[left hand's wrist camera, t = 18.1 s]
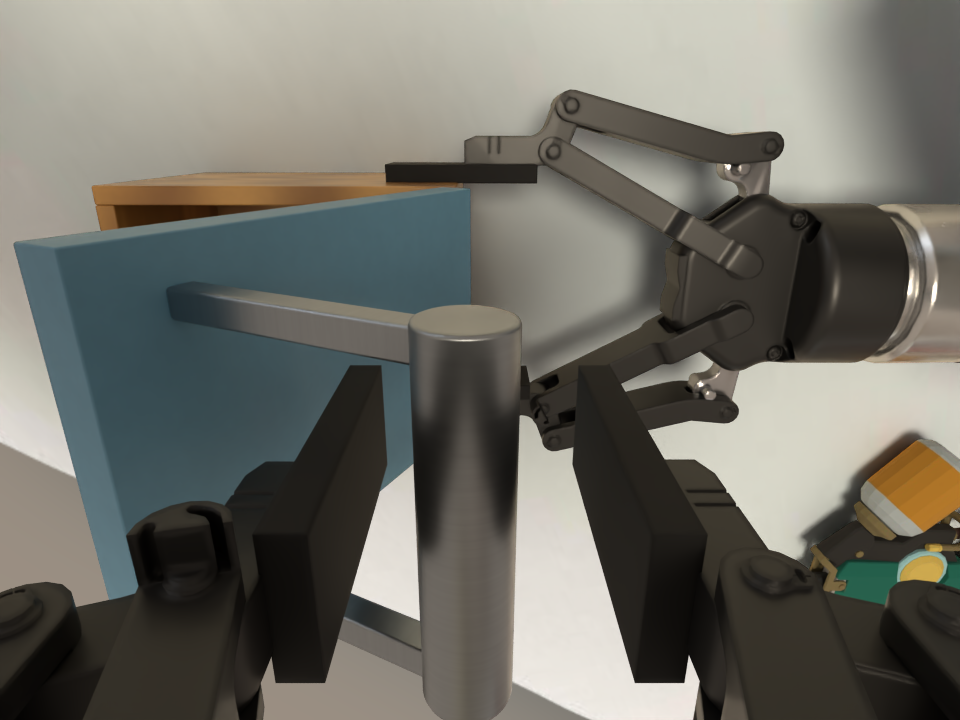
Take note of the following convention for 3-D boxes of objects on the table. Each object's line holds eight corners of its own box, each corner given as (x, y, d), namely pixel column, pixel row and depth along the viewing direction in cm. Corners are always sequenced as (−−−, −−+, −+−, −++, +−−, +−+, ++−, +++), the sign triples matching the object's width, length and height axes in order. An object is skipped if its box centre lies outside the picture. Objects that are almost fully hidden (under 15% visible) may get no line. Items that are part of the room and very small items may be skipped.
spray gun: (1093, 467, 40) (954, 624, 45) (890, 397, 37) (768, 574, 43) (1162, 506, 36) (1001, 673, 42) (942, 432, 33) (800, 622, 39)
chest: (229, 334, 36) (138, 405, 27) (204, 172, 33) (89, 185, 23) (464, 335, 36) (459, 406, 27) (463, 172, 33) (456, 186, 23)
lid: (122, 654, 14) (453, 846, 10) (10, 241, 10) (442, 299, 7) (445, 409, 26) (646, 454, 23) (441, 187, 23) (675, 196, 19)
